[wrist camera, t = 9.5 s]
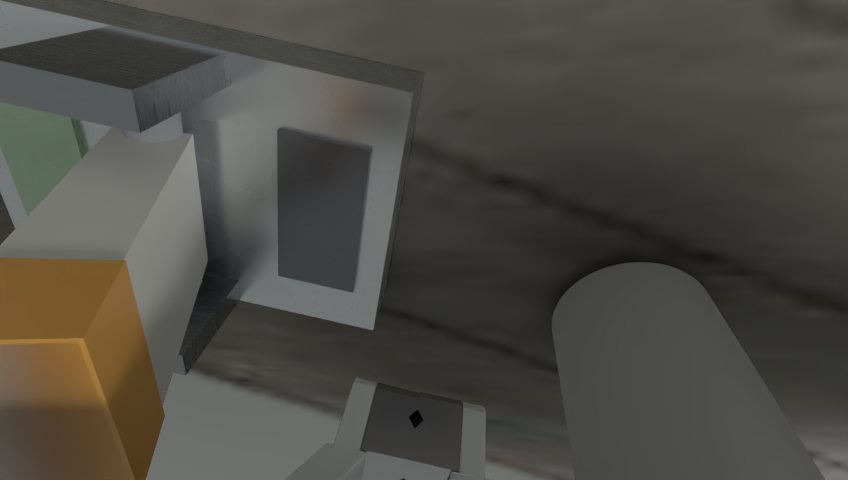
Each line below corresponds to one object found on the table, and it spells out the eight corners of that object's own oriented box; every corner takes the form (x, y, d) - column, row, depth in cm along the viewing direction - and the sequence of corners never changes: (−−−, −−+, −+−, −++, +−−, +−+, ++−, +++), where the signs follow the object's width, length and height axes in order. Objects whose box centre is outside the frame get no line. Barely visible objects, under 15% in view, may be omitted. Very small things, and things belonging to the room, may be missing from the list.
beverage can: (564, 369, 22) (625, 718, 12) (534, 269, 19) (582, 625, 9) (708, 348, 20) (920, 741, 10) (700, 233, 17) (993, 635, 7)
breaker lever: (197, 90, 14) (66, 292, 7) (217, 269, 18) (148, 515, 11) (109, 81, 13) (-144, 290, 6) (150, 268, 17) (27, 528, 10)
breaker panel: (424, 72, 15) (386, 143, 10) (385, 291, 21) (347, 413, 15) (-7, -24, 15) (-284, -8, 10) (71, 221, 21) (-77, 317, 15)
